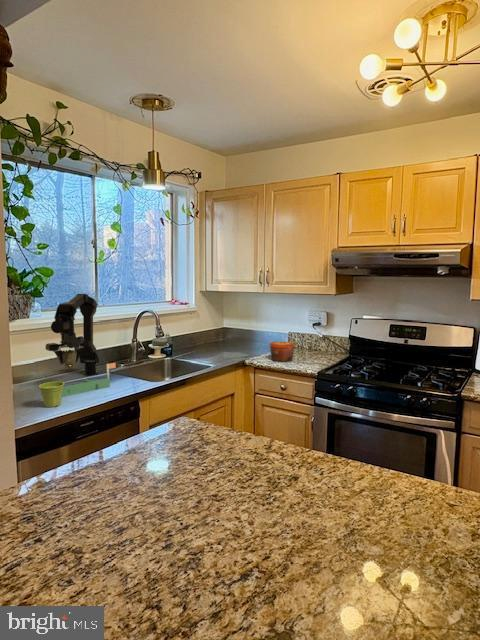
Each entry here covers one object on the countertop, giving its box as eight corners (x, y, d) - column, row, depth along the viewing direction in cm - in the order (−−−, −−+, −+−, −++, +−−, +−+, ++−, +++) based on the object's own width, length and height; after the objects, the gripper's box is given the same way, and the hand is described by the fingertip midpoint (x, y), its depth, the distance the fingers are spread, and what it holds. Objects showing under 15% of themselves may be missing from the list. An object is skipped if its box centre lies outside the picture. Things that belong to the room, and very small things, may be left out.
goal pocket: (43, 392, 187) (41, 368, 186) (104, 380, 208) (103, 359, 207) (53, 398, 179) (52, 373, 177) (116, 385, 199) (115, 362, 198)
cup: (57, 368, 195) (56, 351, 194) (70, 365, 201) (69, 348, 200) (67, 369, 191) (67, 352, 190) (80, 366, 198) (80, 350, 197)
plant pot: (60, 408, 165) (59, 387, 164) (36, 409, 164) (35, 387, 163) (68, 401, 174) (67, 381, 173) (45, 402, 174) (44, 381, 173)
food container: (280, 356, 270) (280, 340, 269) (300, 360, 259) (300, 343, 257) (263, 360, 259) (264, 343, 258) (283, 364, 248) (284, 346, 246)
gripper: (53, 334, 182) (54, 369, 184) (94, 330, 195) (95, 363, 197) (44, 331, 190) (45, 365, 192) (84, 328, 203) (85, 359, 205)
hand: (68, 363), depth 196 cm, fingers closed on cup, 6 cm apart
